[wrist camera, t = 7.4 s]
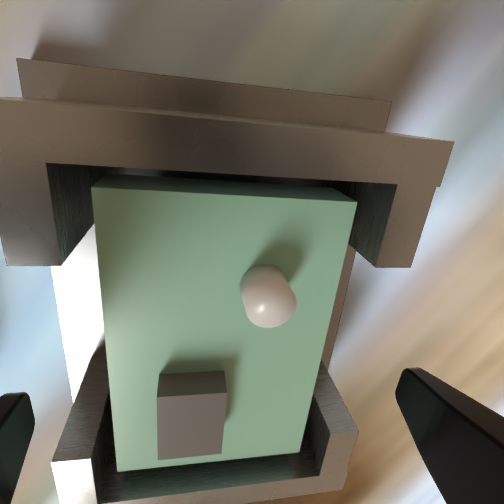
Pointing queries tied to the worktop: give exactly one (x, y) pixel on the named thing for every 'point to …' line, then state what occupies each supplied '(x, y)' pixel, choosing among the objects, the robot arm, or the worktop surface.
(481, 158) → the worktop surface
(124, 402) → the board
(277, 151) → the chassis
